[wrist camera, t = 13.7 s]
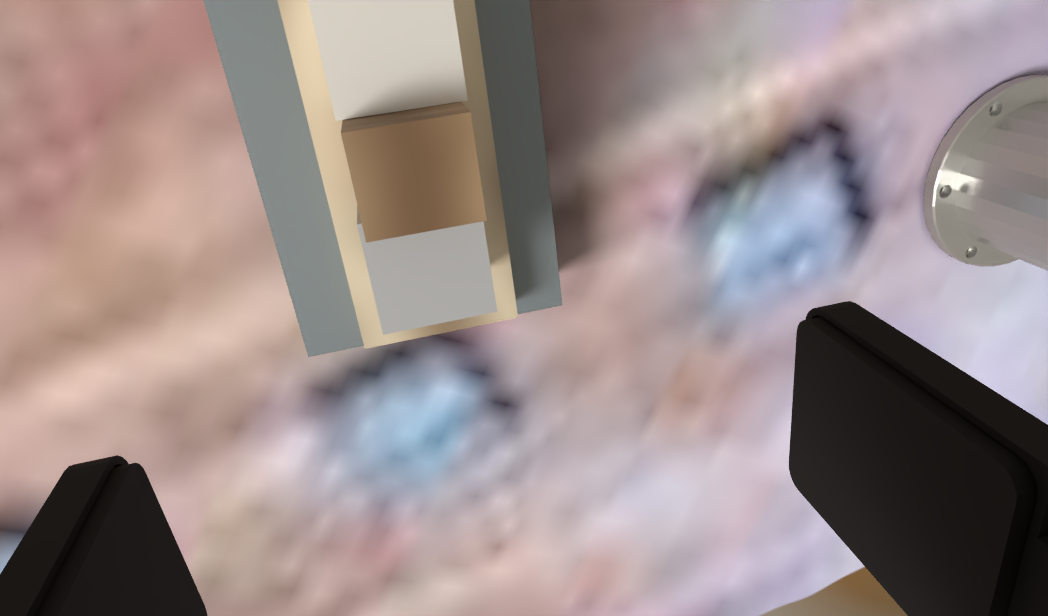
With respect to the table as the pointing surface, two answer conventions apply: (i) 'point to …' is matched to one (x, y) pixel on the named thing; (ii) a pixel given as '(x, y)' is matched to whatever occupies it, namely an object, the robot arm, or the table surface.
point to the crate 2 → (430, 276)
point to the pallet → (344, 181)
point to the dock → (296, 183)
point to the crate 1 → (388, 54)
